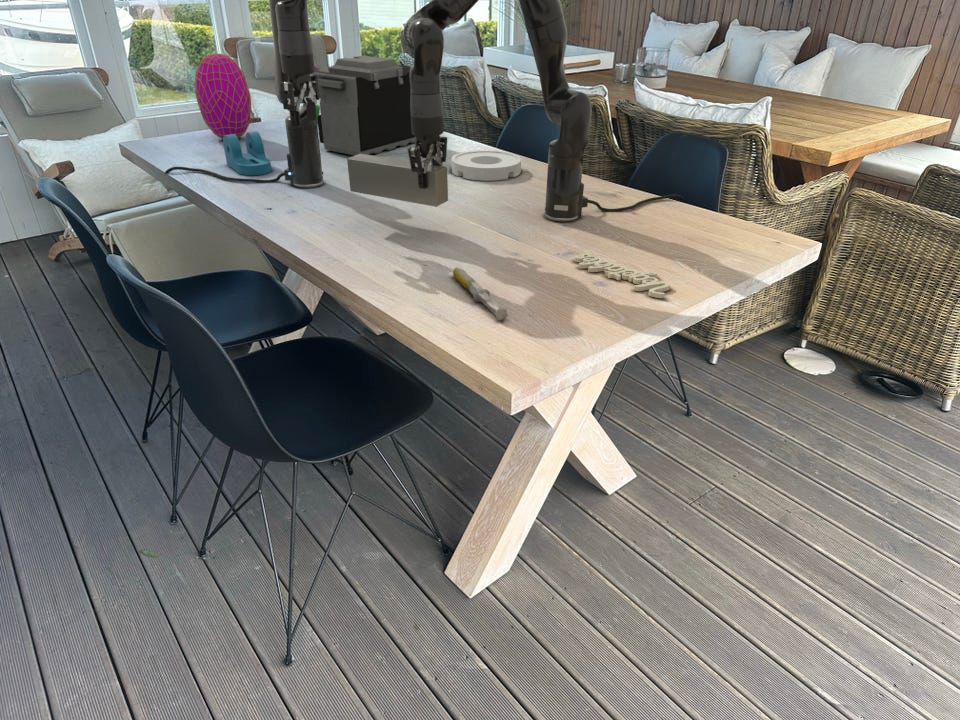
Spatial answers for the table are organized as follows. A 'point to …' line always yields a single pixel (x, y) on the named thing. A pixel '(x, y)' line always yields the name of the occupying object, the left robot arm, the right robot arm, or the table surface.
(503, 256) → the table surface
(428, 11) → the right robot arm
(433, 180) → the bar
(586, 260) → the decorative sign
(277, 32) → the left robot arm
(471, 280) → the syringe
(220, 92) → the decorative egg
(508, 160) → the ashtray
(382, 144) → the cooler box
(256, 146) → the camera mount
